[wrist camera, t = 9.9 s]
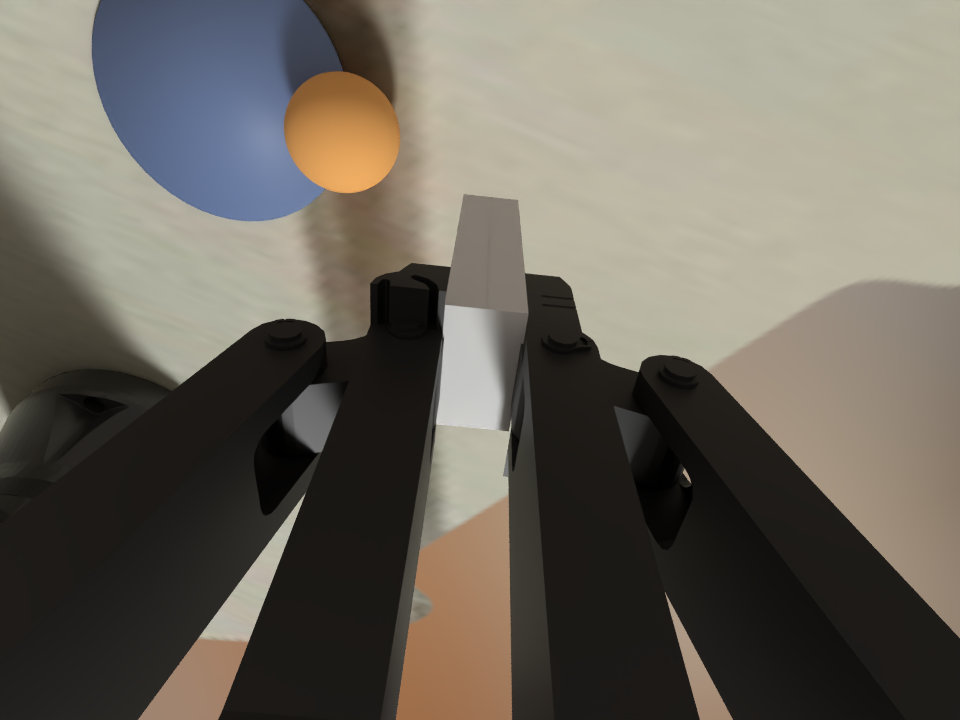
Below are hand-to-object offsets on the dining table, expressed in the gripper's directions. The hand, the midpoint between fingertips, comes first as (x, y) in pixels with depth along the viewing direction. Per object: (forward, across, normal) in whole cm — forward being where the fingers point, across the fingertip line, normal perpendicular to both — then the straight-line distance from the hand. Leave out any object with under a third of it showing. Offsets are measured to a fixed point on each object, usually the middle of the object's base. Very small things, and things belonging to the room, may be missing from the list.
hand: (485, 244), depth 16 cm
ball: (+14, +7, 0) cm, 15 cm away
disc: (+16, +14, 0) cm, 22 cm away
